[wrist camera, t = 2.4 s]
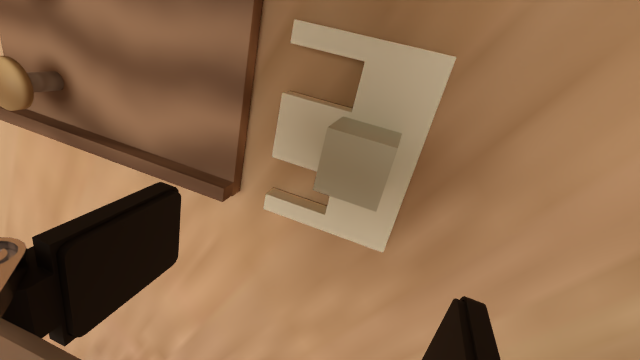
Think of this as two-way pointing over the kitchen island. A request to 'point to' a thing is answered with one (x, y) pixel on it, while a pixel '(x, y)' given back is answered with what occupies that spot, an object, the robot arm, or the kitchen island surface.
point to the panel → (376, 101)
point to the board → (136, 82)
